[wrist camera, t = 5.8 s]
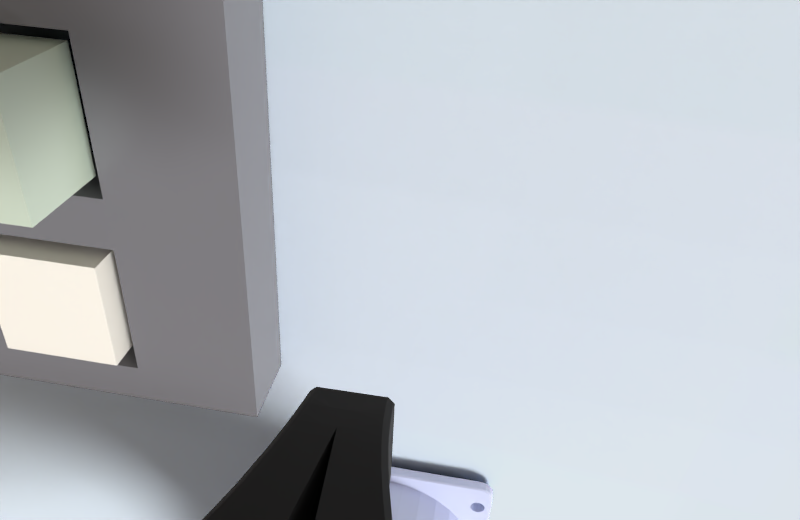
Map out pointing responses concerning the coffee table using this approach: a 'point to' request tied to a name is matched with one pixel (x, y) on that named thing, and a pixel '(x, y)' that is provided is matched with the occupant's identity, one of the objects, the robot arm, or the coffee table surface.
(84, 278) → the ivory key
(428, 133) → the coffee table surface
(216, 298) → the grey slotted board
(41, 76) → the sage key
